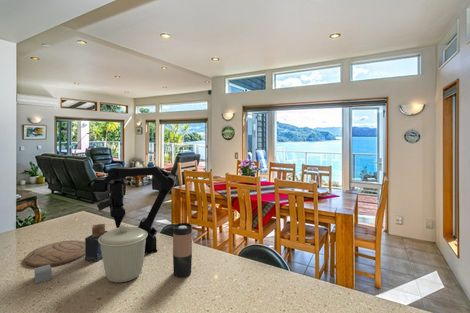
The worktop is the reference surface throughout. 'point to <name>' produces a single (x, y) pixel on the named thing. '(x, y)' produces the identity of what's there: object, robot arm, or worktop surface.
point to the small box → (93, 249)
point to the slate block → (43, 273)
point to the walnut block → (98, 230)
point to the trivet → (56, 254)
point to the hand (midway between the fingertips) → (117, 224)
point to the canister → (123, 252)
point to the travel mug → (182, 249)
